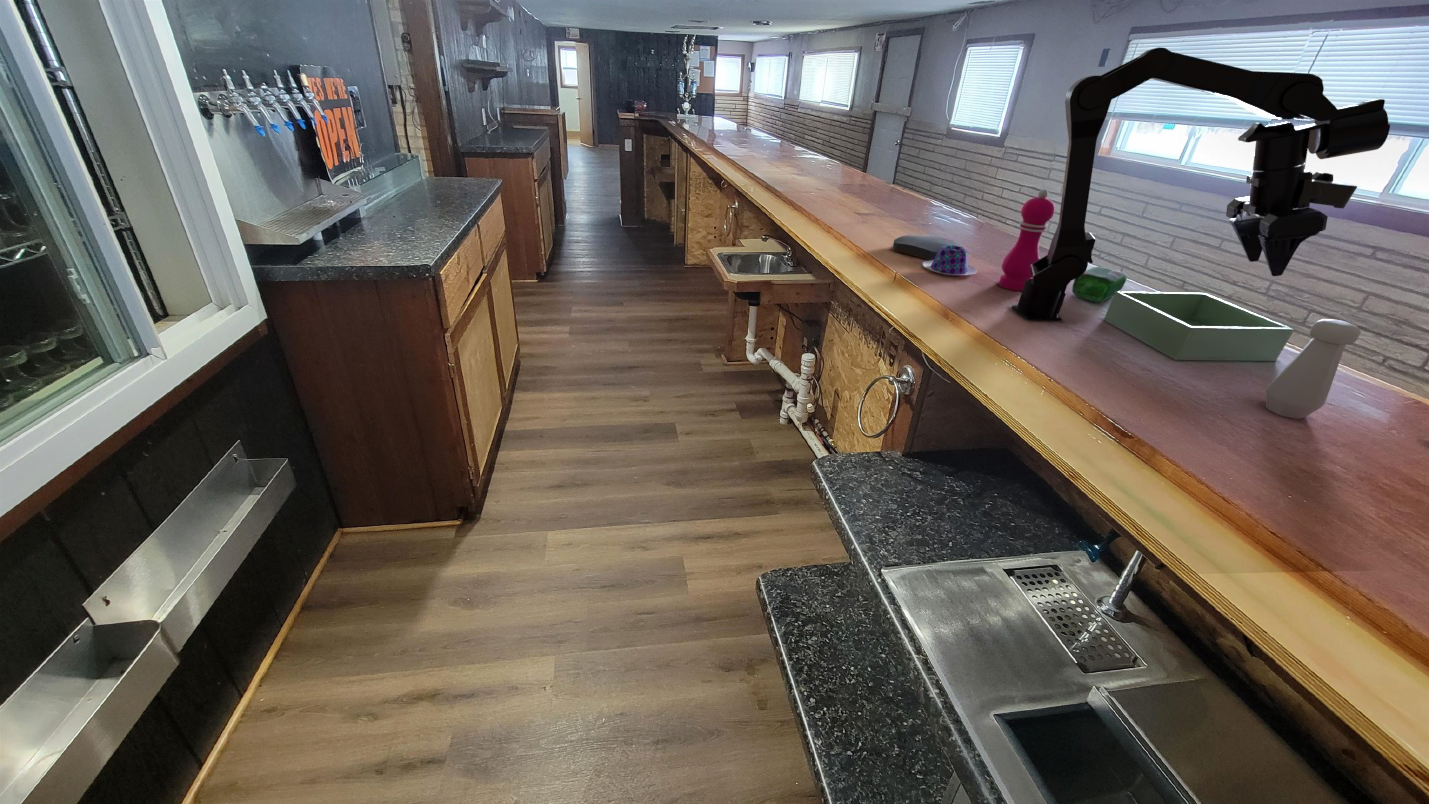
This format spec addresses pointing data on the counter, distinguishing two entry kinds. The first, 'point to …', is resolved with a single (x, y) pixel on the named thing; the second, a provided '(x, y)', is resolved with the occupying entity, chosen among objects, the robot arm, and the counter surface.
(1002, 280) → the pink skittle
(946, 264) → the patterned bucket hat
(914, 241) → the media streaming box
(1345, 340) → the salt shaker
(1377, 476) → the counter surface
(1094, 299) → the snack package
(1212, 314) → the bin
